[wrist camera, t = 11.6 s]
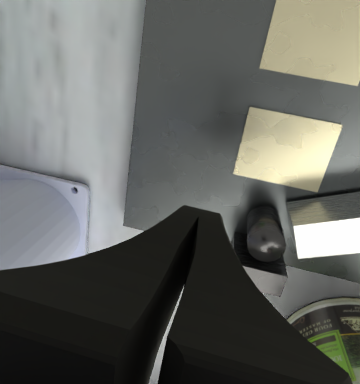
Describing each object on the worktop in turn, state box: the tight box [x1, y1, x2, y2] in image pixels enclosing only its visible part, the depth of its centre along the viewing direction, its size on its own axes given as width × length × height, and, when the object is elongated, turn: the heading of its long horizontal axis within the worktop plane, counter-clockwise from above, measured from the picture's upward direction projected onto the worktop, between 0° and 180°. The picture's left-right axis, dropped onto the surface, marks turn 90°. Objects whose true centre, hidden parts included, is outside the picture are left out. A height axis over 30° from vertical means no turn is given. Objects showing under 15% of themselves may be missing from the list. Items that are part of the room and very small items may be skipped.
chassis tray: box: [123, 0, 360, 297], centre depth 16 cm, size 18×19×5 cm
